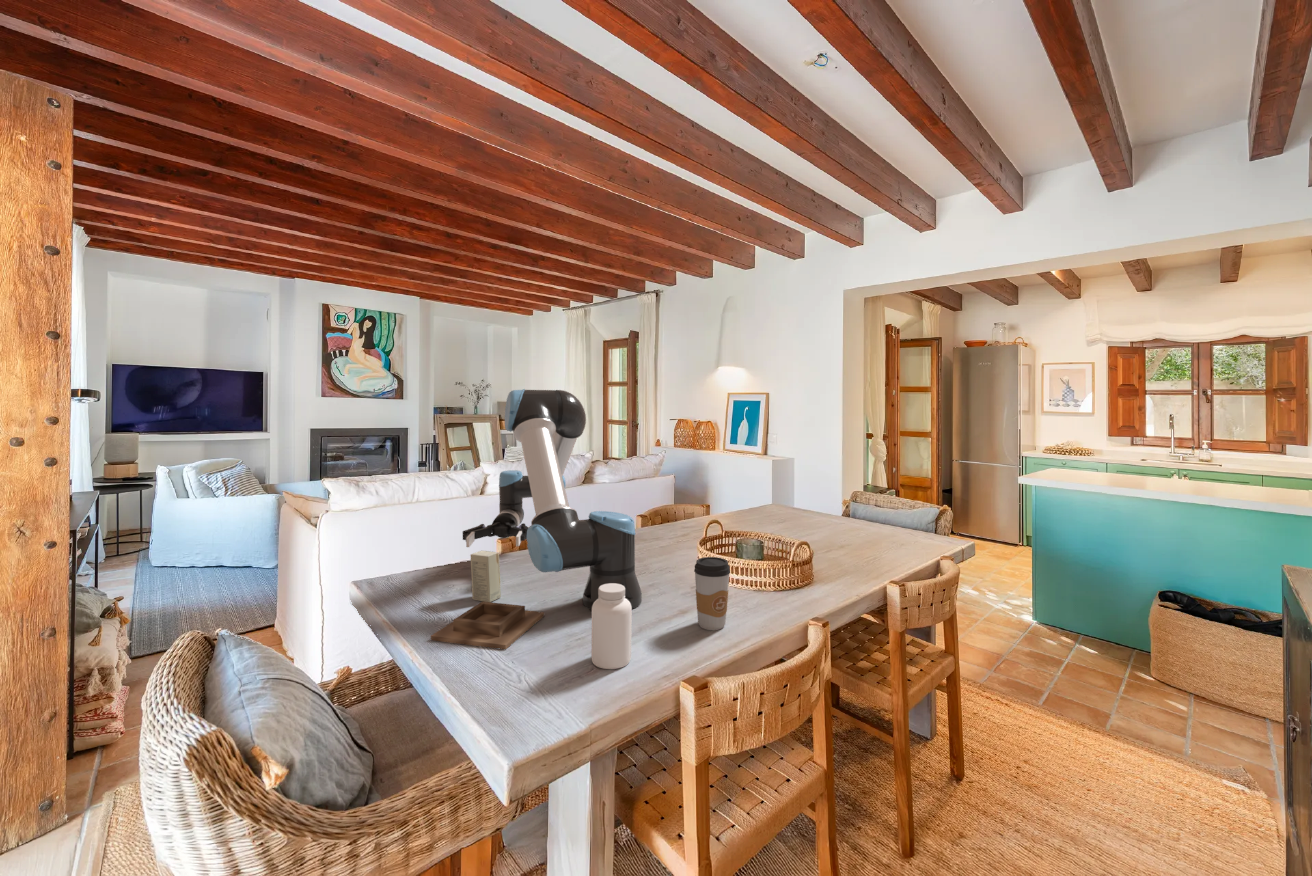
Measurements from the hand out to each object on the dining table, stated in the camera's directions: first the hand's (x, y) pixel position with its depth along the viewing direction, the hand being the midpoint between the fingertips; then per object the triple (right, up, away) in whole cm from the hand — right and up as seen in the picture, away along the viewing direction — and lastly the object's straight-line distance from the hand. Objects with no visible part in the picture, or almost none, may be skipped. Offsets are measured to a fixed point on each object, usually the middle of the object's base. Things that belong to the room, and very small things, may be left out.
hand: (492, 542), depth 149 cm
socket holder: (+8, -14, -27) cm, 32 cm away
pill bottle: (+37, -16, -43) cm, 59 cm away
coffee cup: (+59, -14, -26) cm, 66 cm away
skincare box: (+1, -13, -9) cm, 16 cm away
